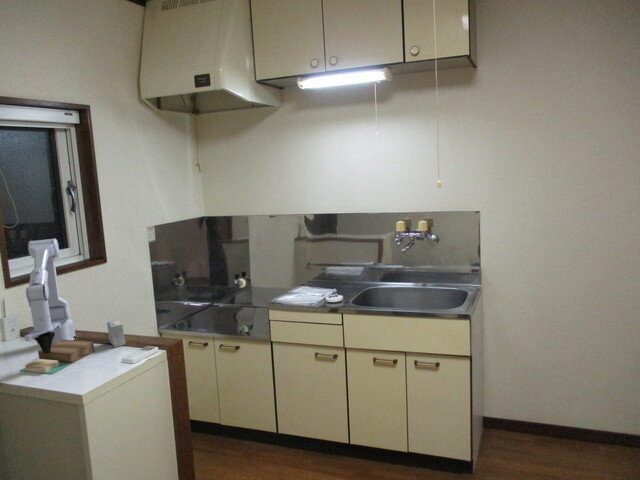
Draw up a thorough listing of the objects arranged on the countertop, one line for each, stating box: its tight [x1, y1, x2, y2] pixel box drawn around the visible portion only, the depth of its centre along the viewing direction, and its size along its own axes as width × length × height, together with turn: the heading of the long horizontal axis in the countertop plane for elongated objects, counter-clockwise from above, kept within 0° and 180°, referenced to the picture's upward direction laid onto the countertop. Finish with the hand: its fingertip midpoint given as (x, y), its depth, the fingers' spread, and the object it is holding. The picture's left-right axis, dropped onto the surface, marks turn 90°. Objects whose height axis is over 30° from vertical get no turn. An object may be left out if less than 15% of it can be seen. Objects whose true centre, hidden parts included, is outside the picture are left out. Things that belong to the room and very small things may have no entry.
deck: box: [37, 339, 95, 365], centre depth 200 cm, size 12×15×4 cm
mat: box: [19, 362, 72, 375], centre depth 191 cm, size 9×15×1 cm, turn 72°
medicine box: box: [106, 319, 126, 348], centre depth 210 cm, size 8×4×9 cm, turn 34°
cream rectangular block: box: [24, 358, 59, 374], centre depth 189 cm, size 6×9×2 cm, turn 72°
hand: (46, 352), depth 191 cm, fingers closed
